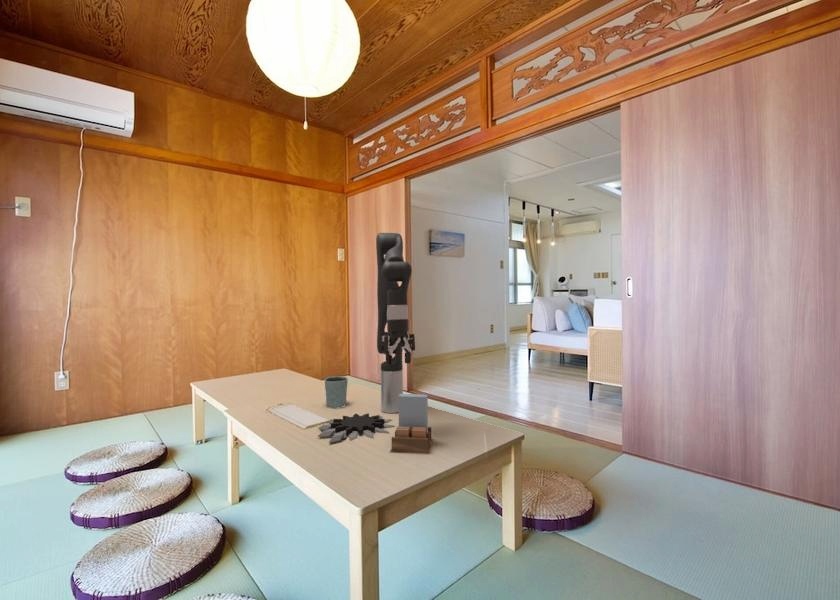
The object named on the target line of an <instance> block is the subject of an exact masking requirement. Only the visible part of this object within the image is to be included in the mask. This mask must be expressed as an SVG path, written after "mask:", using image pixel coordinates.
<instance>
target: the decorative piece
mask: <svg viewBox="0 0 840 600" xmlns="http://www.w3.org/2000/svg"><path fill="white" fill-rule="evenodd" d="M328 420H329V421H327V422H328V423H327V424H323V425H320V426H318V428H317V429H318V430H319V431H321V432H320V434H318V435H317V438H320V439H329V438H330V439H329V441H328V443H329V444H336V443H340V441H341V442H343V440H347V439H348V440H349V441H350V442H351V441H352V442H353V441H354V440H357V439H358V436H365V437H366V438H368V439H369V438H370V439H373V440H374V433H379V434H391V433H390V432H389V431H388V430H385V429H391V428H396V426H395V425H394V424H388V423H390V422H392V421H393V422H394V420H392V419H389V418H388V419H386V418H384V417H383V416H382V415H379V414H378V415H372V416H370V413H368V412H367V413H365V414H364V413H363V414H361V415H360V414H358V413H354V414H353V415H352V416H349V415H342V418H333V419H332V418H331V419H328Z"/></svg>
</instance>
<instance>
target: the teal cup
mask: <svg viewBox="0 0 840 600" xmlns="http://www.w3.org/2000/svg"><path fill="white" fill-rule="evenodd" d="M348 380H349V379H348V377H345V376H329V377H326V378H325V379H324V388H325V402H326V403H325V405H326V408H328V407H331V408H330V409H338V408H337V407H341V408H343V407H342V406H344V405H346V406H347V392H348V391H347V390H348ZM344 407H345V406H344Z"/></svg>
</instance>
